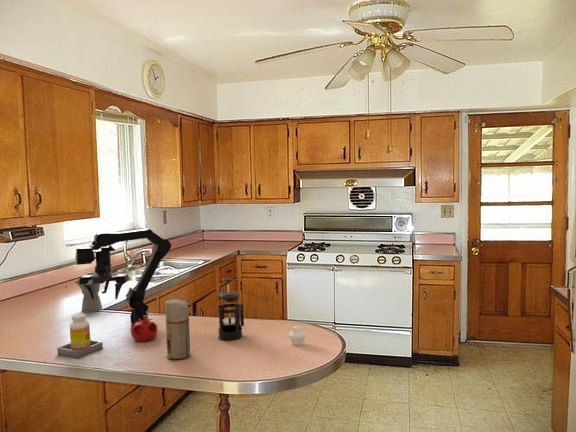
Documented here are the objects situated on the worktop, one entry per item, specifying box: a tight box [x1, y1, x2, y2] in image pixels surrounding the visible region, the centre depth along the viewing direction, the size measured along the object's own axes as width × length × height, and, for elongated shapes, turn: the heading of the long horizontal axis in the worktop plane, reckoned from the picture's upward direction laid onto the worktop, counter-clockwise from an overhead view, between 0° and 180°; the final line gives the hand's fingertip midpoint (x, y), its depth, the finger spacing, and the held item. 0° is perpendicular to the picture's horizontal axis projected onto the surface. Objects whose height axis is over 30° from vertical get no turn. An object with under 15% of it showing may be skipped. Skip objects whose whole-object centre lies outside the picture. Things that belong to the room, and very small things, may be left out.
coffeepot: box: [74, 272, 110, 313], centre depth 230 cm, size 15×9×18 cm, turn 113°
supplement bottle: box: [69, 313, 91, 351], centre depth 173 cm, size 7×7×13 cm
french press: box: [216, 277, 245, 342], centre depth 183 cm, size 12×9×23 cm
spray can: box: [164, 298, 191, 360], centre depth 165 cm, size 8×8×20 cm
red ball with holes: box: [130, 316, 158, 343], centre depth 184 cm, size 10×10×9 cm
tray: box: [57, 339, 104, 360], centre depth 173 cm, size 11×11×2 cm
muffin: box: [288, 325, 306, 347], centre depth 173 cm, size 6×6×7 cm
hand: (105, 299), depth 197 cm, fingers open, 9 cm apart
